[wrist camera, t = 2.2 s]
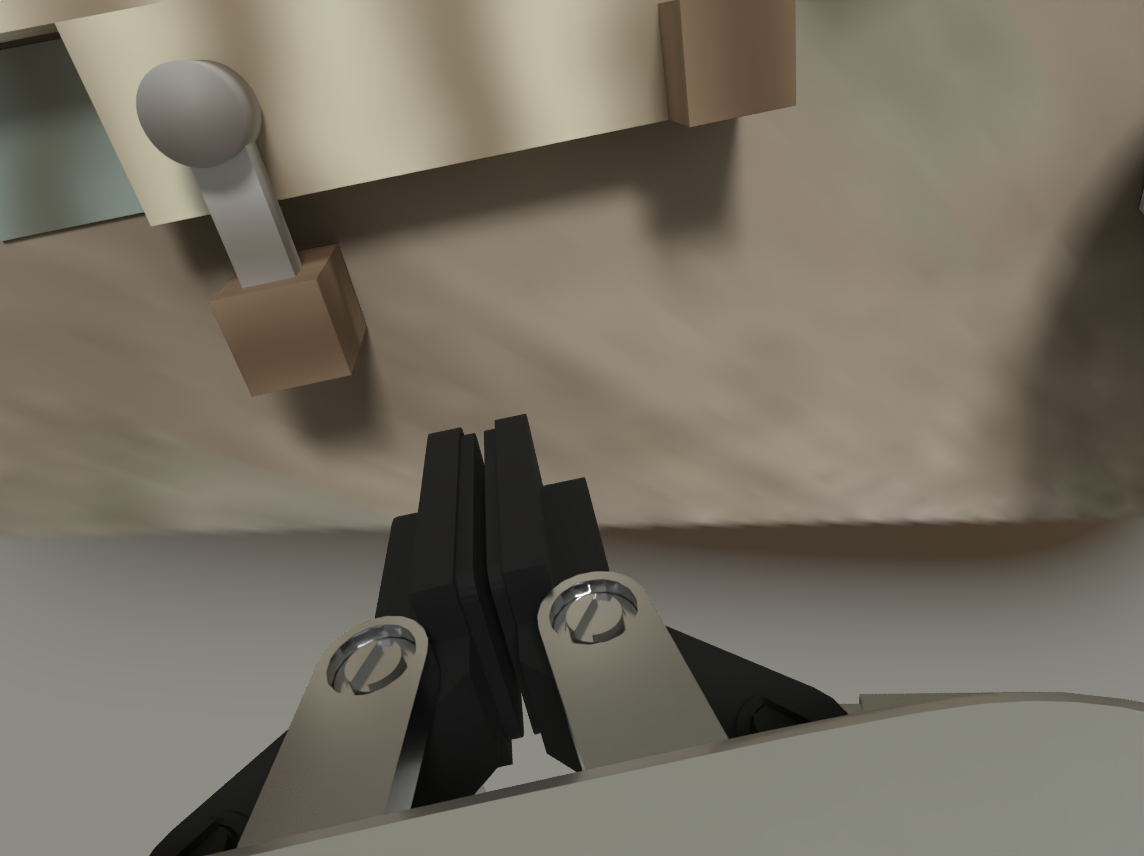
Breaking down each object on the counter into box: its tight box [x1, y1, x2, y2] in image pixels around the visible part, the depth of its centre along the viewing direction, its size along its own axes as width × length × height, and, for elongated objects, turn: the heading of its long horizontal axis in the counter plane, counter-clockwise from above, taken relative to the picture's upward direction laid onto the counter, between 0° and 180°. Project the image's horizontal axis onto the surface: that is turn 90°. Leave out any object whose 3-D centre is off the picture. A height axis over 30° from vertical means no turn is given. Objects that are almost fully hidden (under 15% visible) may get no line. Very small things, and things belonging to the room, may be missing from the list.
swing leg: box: [136, 60, 367, 397], centre depth 24 cm, size 10×4×5 cm, turn 10°
